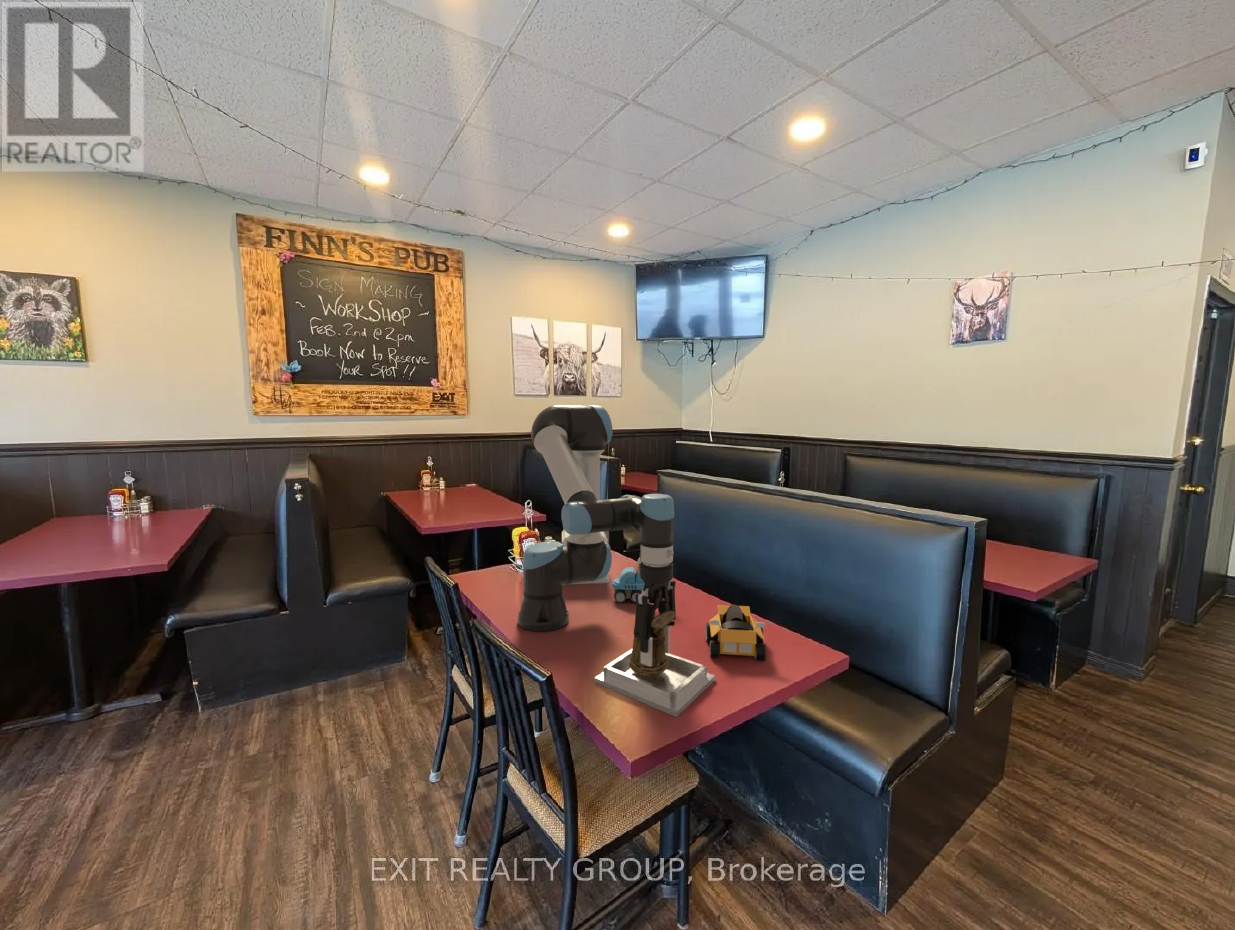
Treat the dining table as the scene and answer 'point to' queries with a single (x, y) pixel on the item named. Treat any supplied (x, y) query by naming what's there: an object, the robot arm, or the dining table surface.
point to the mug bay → (658, 683)
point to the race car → (735, 633)
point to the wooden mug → (653, 647)
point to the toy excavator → (628, 584)
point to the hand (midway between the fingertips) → (655, 657)
